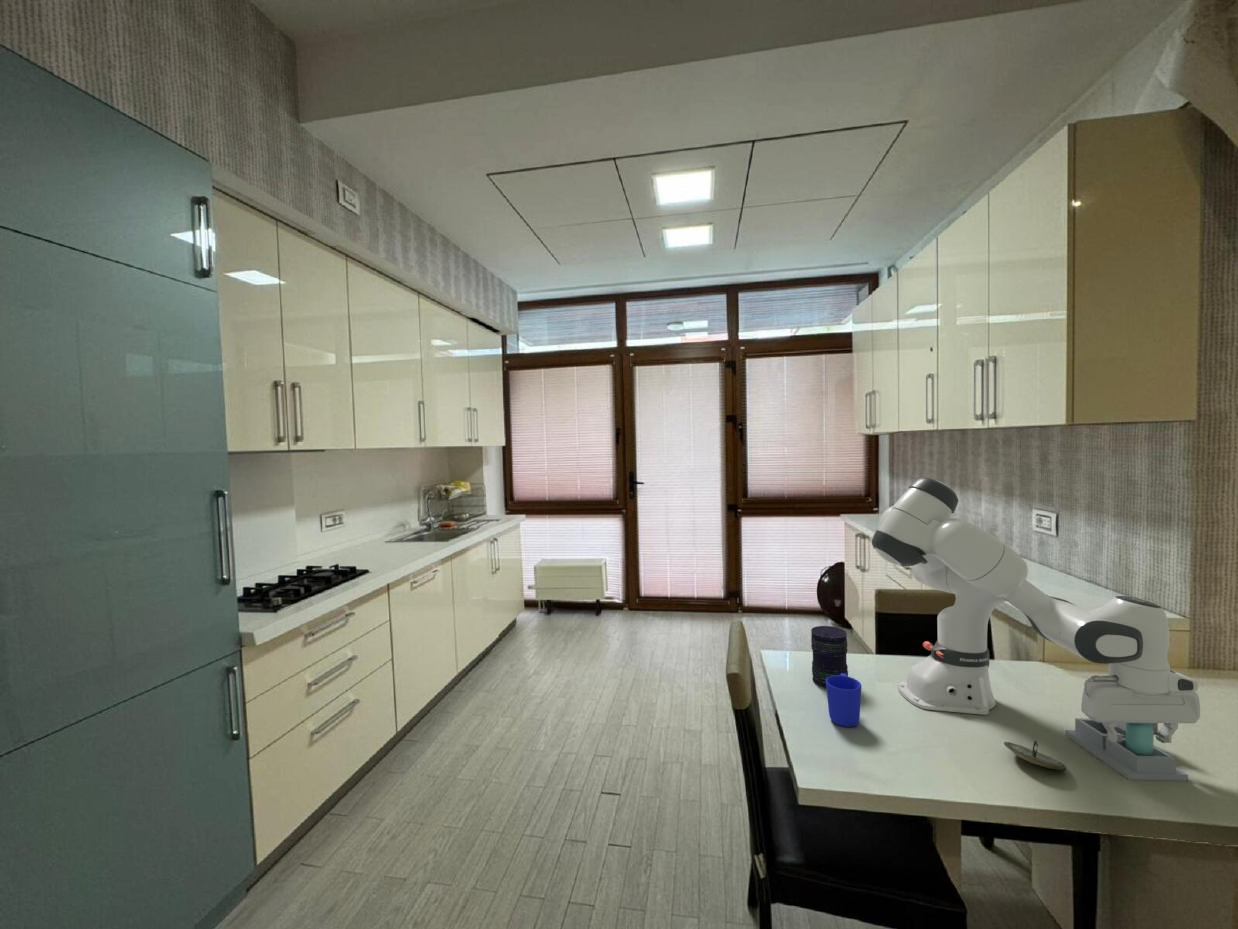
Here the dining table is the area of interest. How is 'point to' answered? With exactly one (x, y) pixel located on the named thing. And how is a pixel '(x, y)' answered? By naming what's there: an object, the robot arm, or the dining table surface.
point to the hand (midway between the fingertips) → (1139, 741)
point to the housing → (1124, 754)
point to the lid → (1035, 756)
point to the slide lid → (1122, 727)
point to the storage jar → (828, 653)
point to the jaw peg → (1140, 739)
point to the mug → (843, 699)
